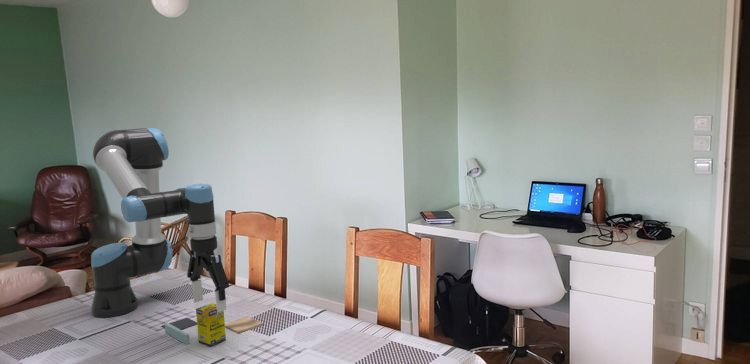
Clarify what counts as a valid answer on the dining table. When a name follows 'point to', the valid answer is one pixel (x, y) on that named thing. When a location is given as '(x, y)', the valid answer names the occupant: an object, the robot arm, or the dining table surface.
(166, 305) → the dining table surface
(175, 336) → the channel
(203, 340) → the supplement box
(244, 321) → the pad
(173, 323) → the mat
